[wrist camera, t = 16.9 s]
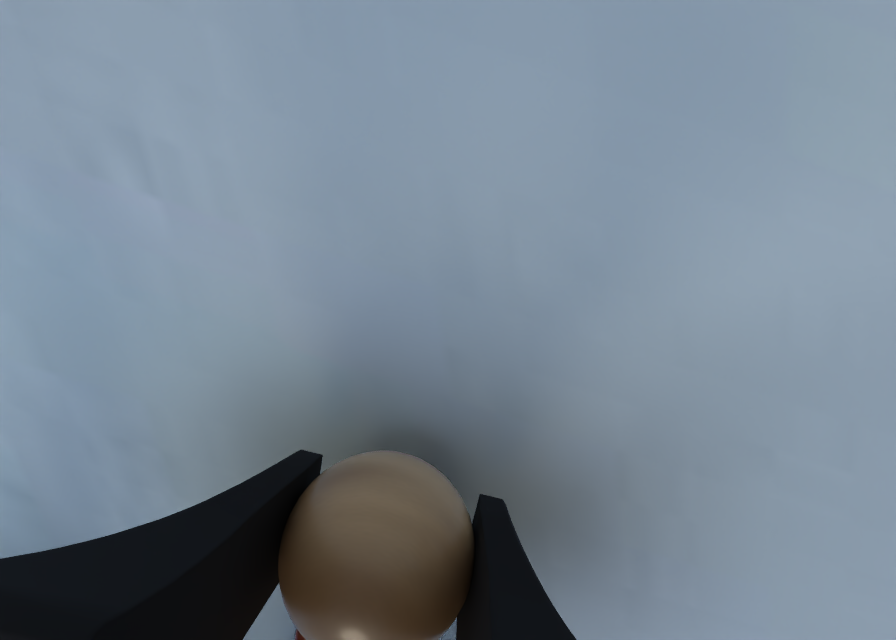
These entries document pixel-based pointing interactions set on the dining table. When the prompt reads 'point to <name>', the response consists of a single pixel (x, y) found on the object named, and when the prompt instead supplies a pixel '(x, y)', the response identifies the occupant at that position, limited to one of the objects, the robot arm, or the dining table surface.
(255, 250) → the dining table surface
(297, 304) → the dining table surface
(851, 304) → the dining table surface
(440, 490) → the red doll
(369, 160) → the dining table surface
